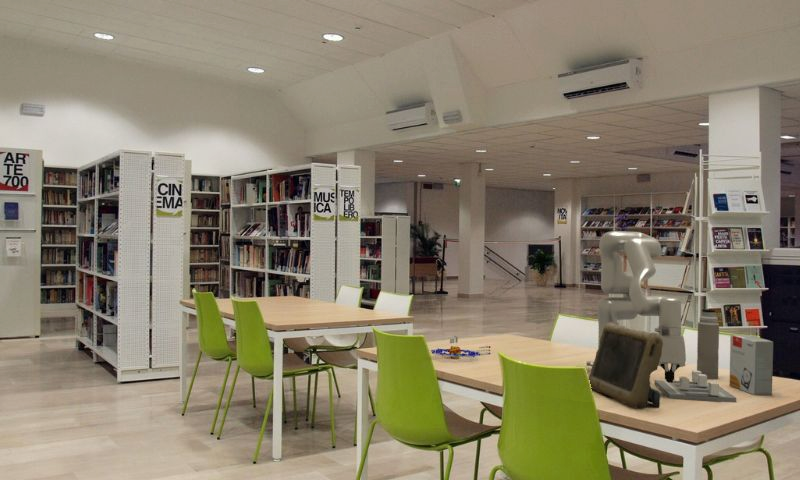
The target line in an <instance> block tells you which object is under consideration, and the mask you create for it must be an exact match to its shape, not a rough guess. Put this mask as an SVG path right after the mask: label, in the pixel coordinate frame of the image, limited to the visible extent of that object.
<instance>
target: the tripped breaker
mask: <svg viewBox="0 0 800 480" xmlns="http://www.w3.org/2000/svg"><path fill="white" fill-rule="evenodd" d="M678 378H679V380H678V381H679V388H681V389H684V390H689V381H690V378H689V377H688V376H683V375H681V376H679V377H678Z"/></svg>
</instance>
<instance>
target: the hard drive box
mask: <svg viewBox="0 0 800 480" xmlns="http://www.w3.org/2000/svg"><path fill="white" fill-rule="evenodd" d="M729 337H730V340H729V341H730V343H729V344H730V346H729V347H730V349H729V355H730V356H729V386H731V387H733V388H735V389H737V390H738V389H739V390H741V391H744V392H746V393H748V394H750V395H752V396H756V395H757V396H765V395H767V396H768V395H769V396H771V395H773V370H774V369H773V367H774V365H773V362H774V361H773V360H774V341H771V340H769V339H765V338H762V337H757V336H754V335H749V334H730V336H729Z"/></svg>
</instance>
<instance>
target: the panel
mask: <svg viewBox="0 0 800 480" xmlns="http://www.w3.org/2000/svg"><path fill="white" fill-rule="evenodd" d="M654 385H655V386H656V387H657V386H658V387H659V388H660V389H659V388H658V387H657V388H658V389H659V390H660V391H661V392H662V393H664V394H665V396H666V397H667V398H669V399H671V400H672V399H673V400H691V401H708V402H728V403H737V397H736V396H734V395H733V394H731V393H730V392H729V391H727V390H726V389H725V388H723V387H721V386H720V385H719V396H718V395H710V394H709V393H708V385H709V382H707V387H700V386H698V385H697V383H695V382H693V381H690V380H689V390H684V389H681V388H679V380H673V383H671V382H670V383H668V382H667V381H666V380H663V379H662V380H660V379H655V380H654Z"/></svg>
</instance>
